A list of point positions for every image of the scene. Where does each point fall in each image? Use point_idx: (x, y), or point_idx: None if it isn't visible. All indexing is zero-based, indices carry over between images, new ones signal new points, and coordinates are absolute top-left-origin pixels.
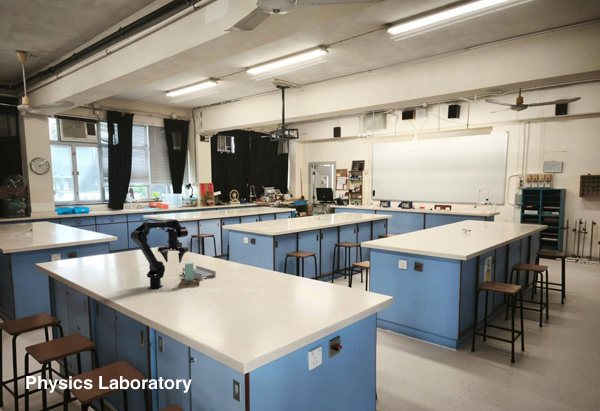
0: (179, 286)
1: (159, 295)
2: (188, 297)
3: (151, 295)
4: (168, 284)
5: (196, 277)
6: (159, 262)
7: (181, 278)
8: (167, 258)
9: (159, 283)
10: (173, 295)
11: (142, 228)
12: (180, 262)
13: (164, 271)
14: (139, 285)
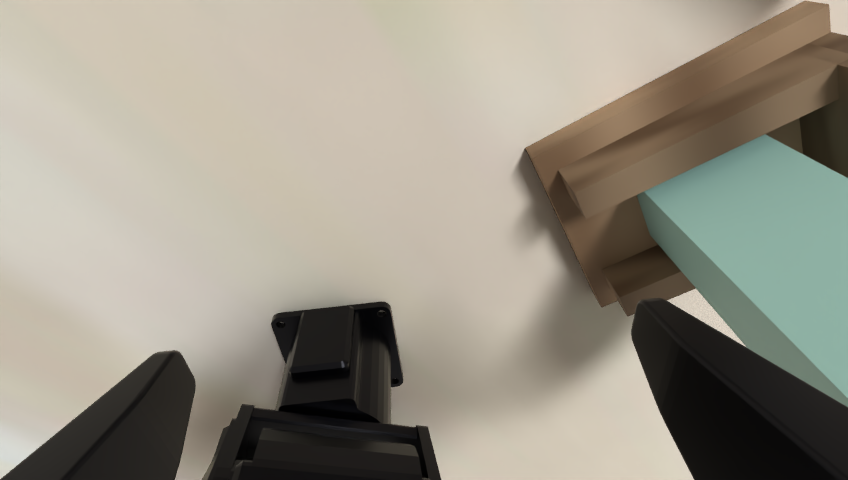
0: (603, 299)
1: (522, 460)
2: None
3: (462, 472)
4: (403, 232)
5: (825, 77)
6: None
7: (579, 196)
8: (108, 451)
9: (390, 379)
10: (630, 437)
11: None
12: (655, 305)
13: (418, 459)
14: (113, 341)
